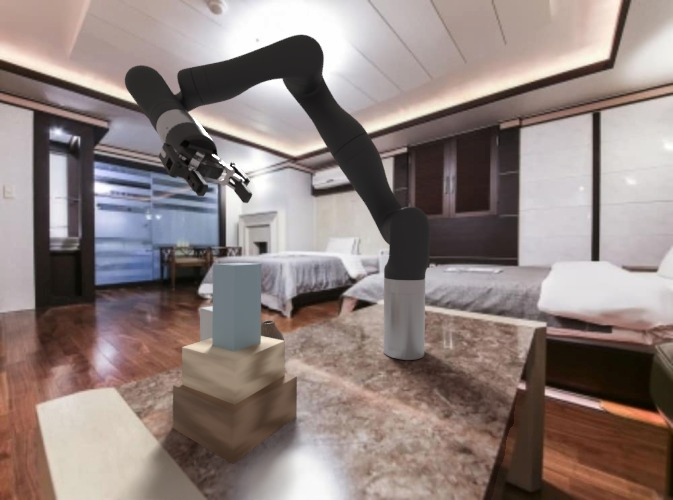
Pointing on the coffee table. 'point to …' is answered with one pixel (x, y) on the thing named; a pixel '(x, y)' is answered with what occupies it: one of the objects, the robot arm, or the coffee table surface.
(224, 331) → the block
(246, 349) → the tower top
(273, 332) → the vase
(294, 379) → the tower base
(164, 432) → the coffee table surface
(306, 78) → the robot arm
